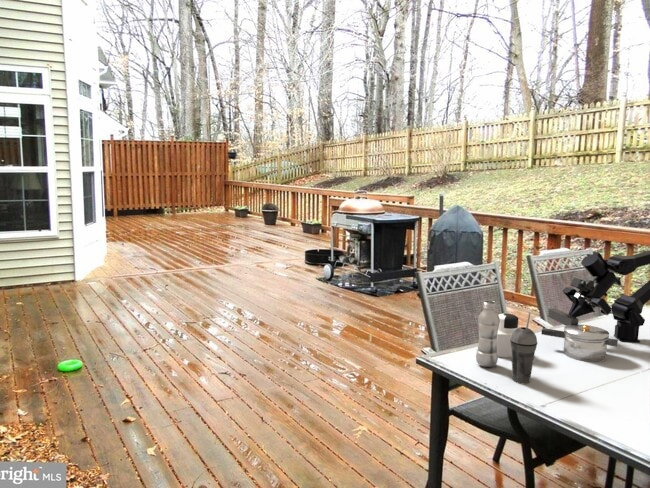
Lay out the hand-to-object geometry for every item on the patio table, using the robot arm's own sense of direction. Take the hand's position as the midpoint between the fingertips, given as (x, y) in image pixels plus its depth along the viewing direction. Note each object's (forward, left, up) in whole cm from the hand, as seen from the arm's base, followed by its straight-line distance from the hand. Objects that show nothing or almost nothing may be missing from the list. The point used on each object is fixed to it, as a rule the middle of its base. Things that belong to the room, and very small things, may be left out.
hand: (569, 317), depth 177 cm
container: (+23, +14, -9) cm, 29 cm away
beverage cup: (+23, +36, -9) cm, 44 cm away
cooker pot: (0, +10, -9) cm, 14 cm away
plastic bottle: (+31, +26, -9) cm, 42 cm away
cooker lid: (0, +5, -2) cm, 6 cm away
